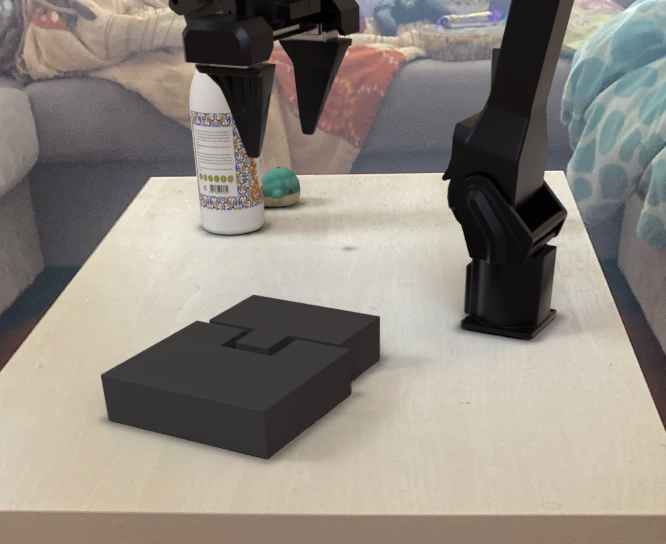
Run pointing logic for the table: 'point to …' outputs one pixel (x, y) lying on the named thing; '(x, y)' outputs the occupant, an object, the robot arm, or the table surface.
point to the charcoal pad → (227, 389)
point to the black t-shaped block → (303, 328)
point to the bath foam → (223, 164)
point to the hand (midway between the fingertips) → (281, 145)
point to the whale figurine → (280, 187)
